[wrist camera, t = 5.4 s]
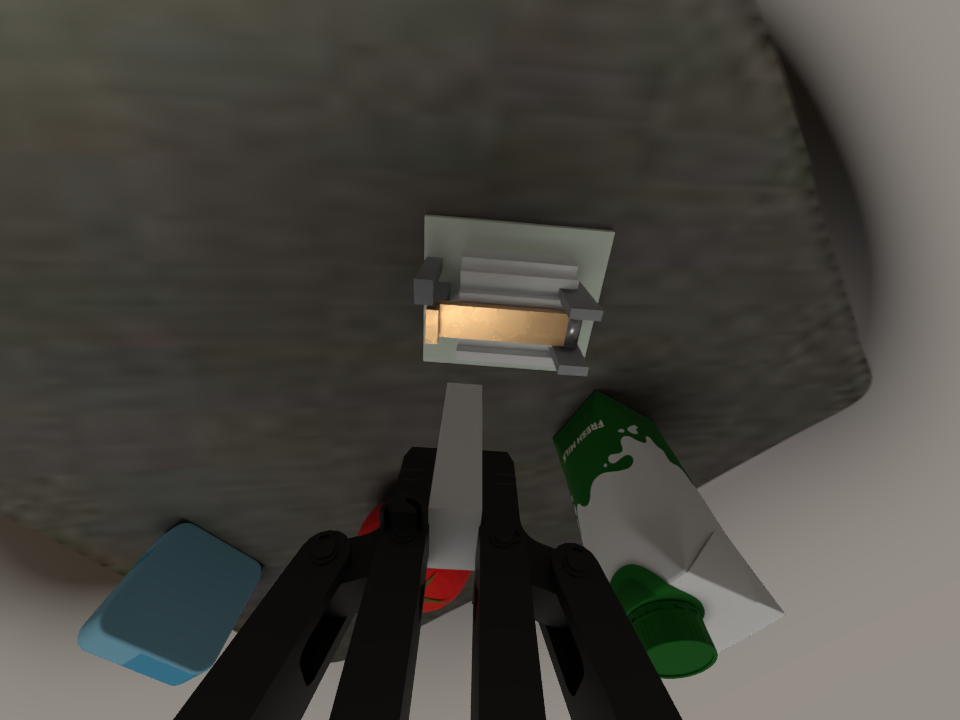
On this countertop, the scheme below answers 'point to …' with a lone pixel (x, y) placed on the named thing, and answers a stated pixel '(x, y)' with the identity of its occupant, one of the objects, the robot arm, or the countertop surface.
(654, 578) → the milk carton
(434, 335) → the wooden bar
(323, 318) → the countertop surface
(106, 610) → the light blue flat block
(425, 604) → the tomato
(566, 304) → the base
